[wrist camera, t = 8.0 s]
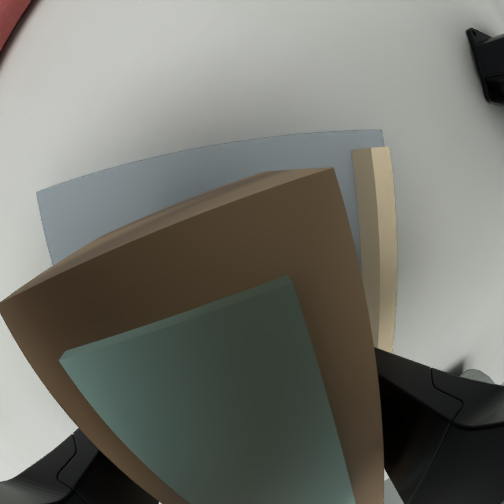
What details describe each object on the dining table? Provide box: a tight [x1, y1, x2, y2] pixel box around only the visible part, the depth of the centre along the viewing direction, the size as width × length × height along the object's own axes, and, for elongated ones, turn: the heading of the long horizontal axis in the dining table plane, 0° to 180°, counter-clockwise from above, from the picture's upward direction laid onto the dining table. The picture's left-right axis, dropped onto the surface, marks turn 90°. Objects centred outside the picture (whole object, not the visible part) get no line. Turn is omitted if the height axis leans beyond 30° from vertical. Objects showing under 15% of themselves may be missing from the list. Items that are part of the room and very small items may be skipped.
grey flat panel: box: [36, 130, 397, 353], centre depth 14 cm, size 18×14×3 cm
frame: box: [0, 167, 384, 504], centre depth 7 cm, size 5×10×5 cm, turn 19°
